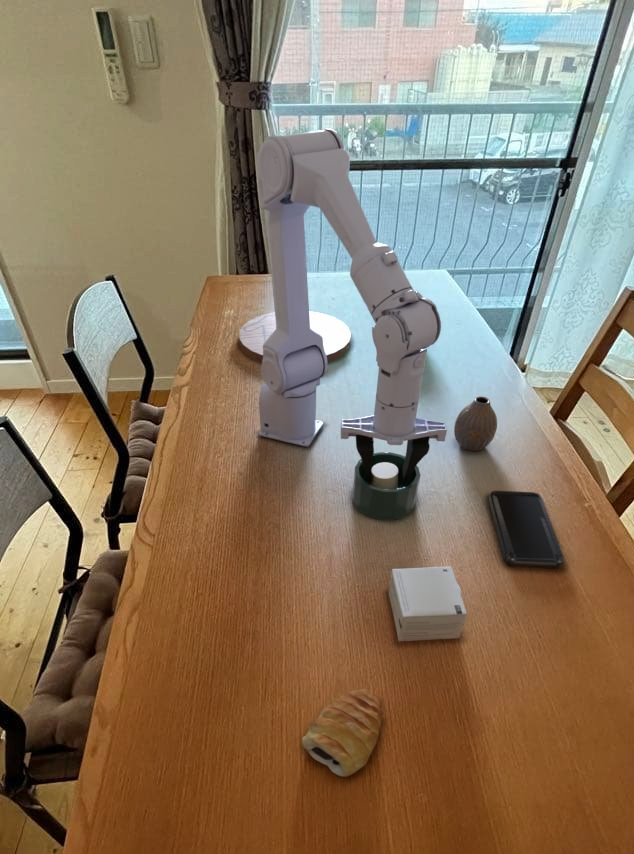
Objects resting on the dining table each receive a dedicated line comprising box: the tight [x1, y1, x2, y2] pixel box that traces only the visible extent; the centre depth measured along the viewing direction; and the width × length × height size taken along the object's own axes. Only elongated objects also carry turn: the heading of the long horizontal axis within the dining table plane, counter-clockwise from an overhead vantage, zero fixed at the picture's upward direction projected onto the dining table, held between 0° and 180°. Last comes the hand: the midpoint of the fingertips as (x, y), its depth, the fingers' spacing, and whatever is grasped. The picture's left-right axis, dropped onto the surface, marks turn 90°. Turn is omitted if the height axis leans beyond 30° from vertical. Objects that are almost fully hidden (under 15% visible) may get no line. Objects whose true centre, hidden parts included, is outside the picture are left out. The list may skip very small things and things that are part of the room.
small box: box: [388, 565, 468, 642], centre depth 68 cm, size 8×8×5 cm
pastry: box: [301, 688, 384, 778], centre depth 58 cm, size 9×7×4 cm
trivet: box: [238, 310, 352, 364], centre depth 124 cm, size 25×25×2 cm
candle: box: [371, 462, 398, 489], centre depth 84 cm, size 4×4×5 cm
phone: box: [488, 490, 565, 569], centre depth 81 cm, size 8×1×15 cm
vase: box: [453, 396, 498, 452], centre depth 94 cm, size 7×7×9 cm
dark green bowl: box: [352, 451, 421, 521], centre depth 84 cm, size 10×10×6 cm
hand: (386, 477), depth 83 cm, fingers open, 5 cm apart
